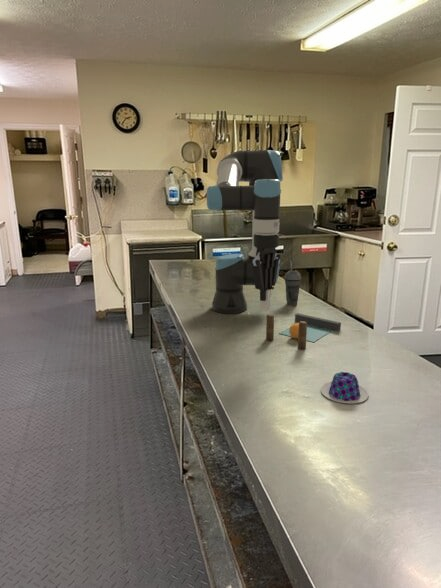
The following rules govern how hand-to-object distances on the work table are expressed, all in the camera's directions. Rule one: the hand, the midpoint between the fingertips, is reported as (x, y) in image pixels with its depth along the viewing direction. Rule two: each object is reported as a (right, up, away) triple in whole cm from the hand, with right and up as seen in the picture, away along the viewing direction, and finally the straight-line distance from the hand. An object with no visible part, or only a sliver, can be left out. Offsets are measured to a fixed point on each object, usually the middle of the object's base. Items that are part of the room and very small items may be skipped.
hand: (264, 309), depth 133 cm
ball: (+13, -8, +18) cm, 24 cm away
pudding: (+19, -22, -19) cm, 35 cm away
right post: (+13, -13, +10) cm, 21 cm away
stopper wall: (+23, -7, +31) cm, 39 cm away
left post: (+4, -11, +18) cm, 21 cm away
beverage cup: (+18, 0, +59) cm, 61 cm away
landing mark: (+17, -9, +24) cm, 31 cm away
